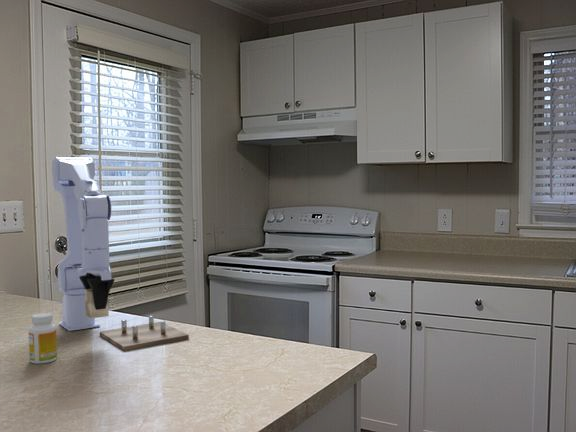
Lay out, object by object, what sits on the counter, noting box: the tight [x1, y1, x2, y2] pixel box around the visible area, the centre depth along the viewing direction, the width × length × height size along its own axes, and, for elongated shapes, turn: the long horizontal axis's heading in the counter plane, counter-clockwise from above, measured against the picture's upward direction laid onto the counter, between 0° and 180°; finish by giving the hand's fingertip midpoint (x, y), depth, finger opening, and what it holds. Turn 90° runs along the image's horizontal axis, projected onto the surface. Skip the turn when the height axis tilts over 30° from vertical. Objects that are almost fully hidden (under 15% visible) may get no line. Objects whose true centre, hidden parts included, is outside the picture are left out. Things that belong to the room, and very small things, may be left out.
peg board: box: [99, 315, 190, 352], centre depth 141 cm, size 16×16×4 cm
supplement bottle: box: [28, 312, 58, 365], centre depth 123 cm, size 5×5×10 cm
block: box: [85, 289, 110, 319], centre depth 134 cm, size 4×4×6 cm
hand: (97, 307), depth 134 cm, fingers closed on block, 4 cm apart
